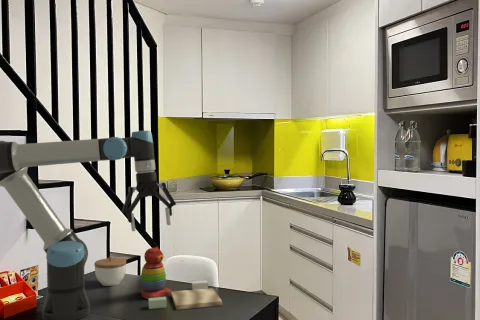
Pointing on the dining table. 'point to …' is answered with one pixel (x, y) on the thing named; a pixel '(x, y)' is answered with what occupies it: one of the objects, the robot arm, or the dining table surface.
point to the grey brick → (199, 285)
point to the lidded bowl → (110, 270)
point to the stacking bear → (153, 275)
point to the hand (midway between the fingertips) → (151, 227)
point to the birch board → (195, 298)
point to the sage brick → (157, 302)
